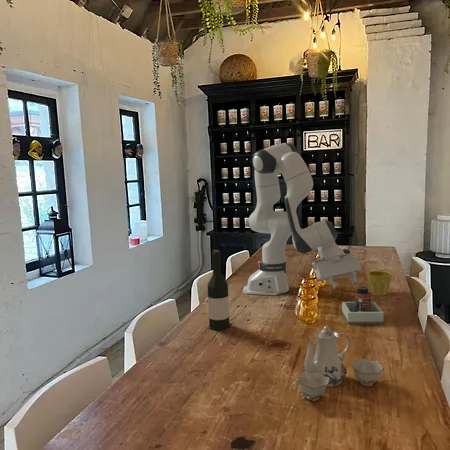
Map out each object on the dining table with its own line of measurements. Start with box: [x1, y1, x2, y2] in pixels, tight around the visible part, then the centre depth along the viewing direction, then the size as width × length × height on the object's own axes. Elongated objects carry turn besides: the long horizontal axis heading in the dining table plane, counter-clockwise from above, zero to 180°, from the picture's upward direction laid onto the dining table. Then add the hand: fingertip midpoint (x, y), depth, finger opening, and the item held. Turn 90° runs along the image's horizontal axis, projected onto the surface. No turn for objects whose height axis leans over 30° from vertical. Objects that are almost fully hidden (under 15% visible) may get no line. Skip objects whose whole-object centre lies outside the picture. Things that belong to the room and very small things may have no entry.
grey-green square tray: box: [341, 301, 384, 325], centre depth 167 cm, size 13×13×4 cm
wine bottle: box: [207, 249, 231, 332], centre depth 163 cm, size 8×8×30 cm
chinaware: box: [290, 324, 385, 402], centre depth 118 cm, size 28×17×17 cm, turn 116°
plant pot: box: [367, 270, 392, 297], centre depth 196 cm, size 10×10×10 cm
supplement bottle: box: [354, 285, 372, 312], centre depth 167 cm, size 6×6×11 cm
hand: (345, 285), depth 177 cm, fingers open, 8 cm apart
